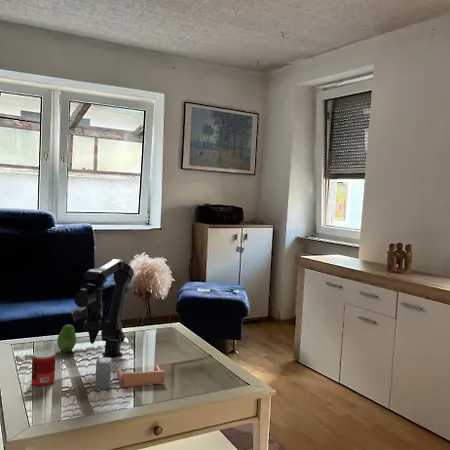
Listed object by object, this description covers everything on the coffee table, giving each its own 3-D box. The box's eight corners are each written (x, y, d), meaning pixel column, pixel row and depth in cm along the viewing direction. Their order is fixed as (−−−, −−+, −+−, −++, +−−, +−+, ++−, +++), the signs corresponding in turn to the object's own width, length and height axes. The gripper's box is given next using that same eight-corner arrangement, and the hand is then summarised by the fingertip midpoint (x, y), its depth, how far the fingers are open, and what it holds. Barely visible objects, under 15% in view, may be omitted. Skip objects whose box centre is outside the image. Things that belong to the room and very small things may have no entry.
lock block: (96, 383, 174) (98, 357, 174) (110, 384, 175) (111, 357, 174) (94, 389, 169) (96, 362, 169) (108, 389, 170) (110, 362, 169)
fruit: (78, 351, 206) (80, 325, 206) (62, 355, 201) (63, 328, 200) (69, 347, 212) (71, 321, 211) (53, 350, 206) (54, 323, 205)
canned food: (58, 380, 175) (60, 352, 174) (43, 388, 167) (45, 358, 166) (41, 376, 177) (43, 348, 176) (26, 384, 170) (27, 354, 169)
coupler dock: (117, 374, 184) (118, 362, 184) (157, 372, 189) (158, 360, 189) (121, 387, 173) (121, 374, 172) (163, 384, 178) (164, 371, 178)
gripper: (75, 295, 194) (74, 332, 195) (70, 307, 176) (69, 348, 177) (103, 295, 196) (101, 332, 197) (101, 307, 178) (99, 347, 179)
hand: (92, 339), depth 188 cm, fingers open, 9 cm apart
